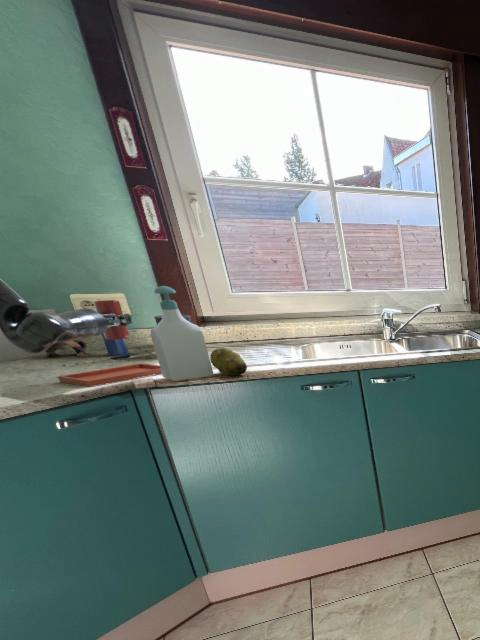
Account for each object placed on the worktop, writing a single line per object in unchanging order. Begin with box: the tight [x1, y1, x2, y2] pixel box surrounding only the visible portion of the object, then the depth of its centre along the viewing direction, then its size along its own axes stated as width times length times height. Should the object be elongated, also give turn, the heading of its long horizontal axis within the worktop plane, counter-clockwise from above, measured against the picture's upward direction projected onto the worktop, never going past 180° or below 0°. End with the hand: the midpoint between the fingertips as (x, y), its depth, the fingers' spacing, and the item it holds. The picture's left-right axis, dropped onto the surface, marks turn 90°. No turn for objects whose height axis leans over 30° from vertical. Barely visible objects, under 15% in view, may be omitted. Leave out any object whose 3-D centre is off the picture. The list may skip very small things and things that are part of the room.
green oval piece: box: [209, 347, 248, 377], centre depth 159 cm, size 8×13×8 cm, turn 43°
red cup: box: [93, 299, 130, 340], centre depth 149 cm, size 5×6×11 cm
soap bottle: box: [150, 285, 214, 382], centre depth 151 cm, size 11×8×27 cm
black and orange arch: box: [44, 339, 88, 358], centre depth 172 cm, size 12×10×8 cm
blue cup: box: [101, 333, 131, 360], centre depth 175 cm, size 5×6×11 cm
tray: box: [57, 362, 162, 387], centre depth 152 cm, size 22×14×2 cm, turn 162°
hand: (116, 317), depth 151 cm, fingers closed on red cup, 5 cm apart
